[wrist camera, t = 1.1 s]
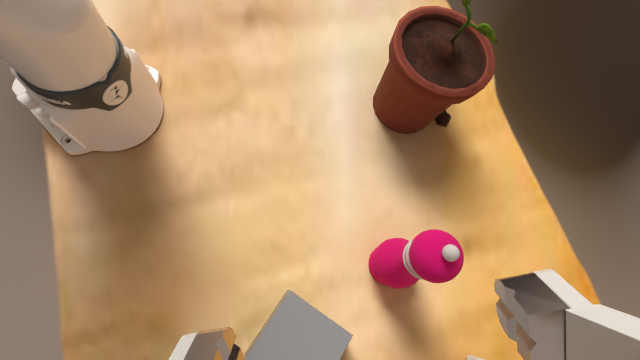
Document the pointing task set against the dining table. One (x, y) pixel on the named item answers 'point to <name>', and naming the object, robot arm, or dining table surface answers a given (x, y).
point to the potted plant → (433, 67)
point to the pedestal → (298, 334)
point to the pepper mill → (417, 259)
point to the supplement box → (472, 358)
